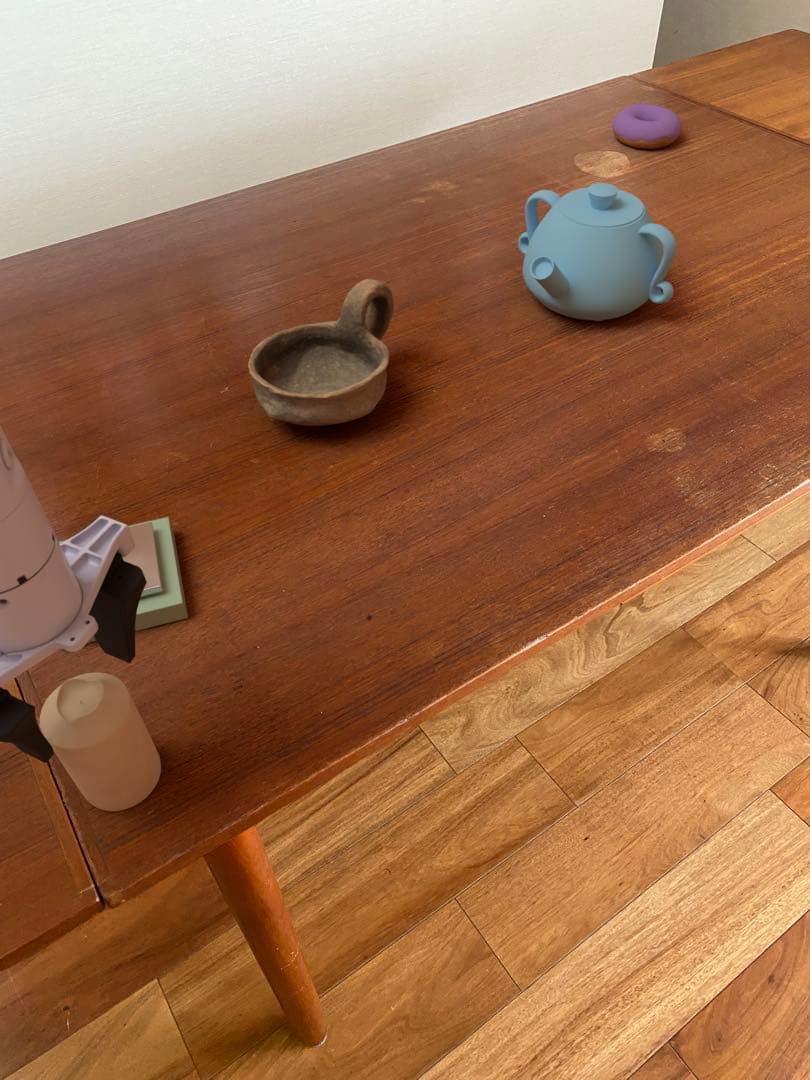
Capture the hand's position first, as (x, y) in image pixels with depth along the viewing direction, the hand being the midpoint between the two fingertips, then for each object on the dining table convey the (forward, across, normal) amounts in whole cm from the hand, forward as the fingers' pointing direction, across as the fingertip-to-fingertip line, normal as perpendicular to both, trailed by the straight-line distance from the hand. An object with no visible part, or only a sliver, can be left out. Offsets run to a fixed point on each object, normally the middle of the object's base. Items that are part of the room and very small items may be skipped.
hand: (80, 701), depth 53 cm
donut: (+10, +115, -5) cm, 116 cm away
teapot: (+10, +69, -10) cm, 70 cm away
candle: (+10, 0, 0) cm, 10 cm away
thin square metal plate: (+7, +14, +11) cm, 19 cm away
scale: (+10, +14, +11) cm, 20 cm away
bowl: (+10, +43, +7) cm, 45 cm away
